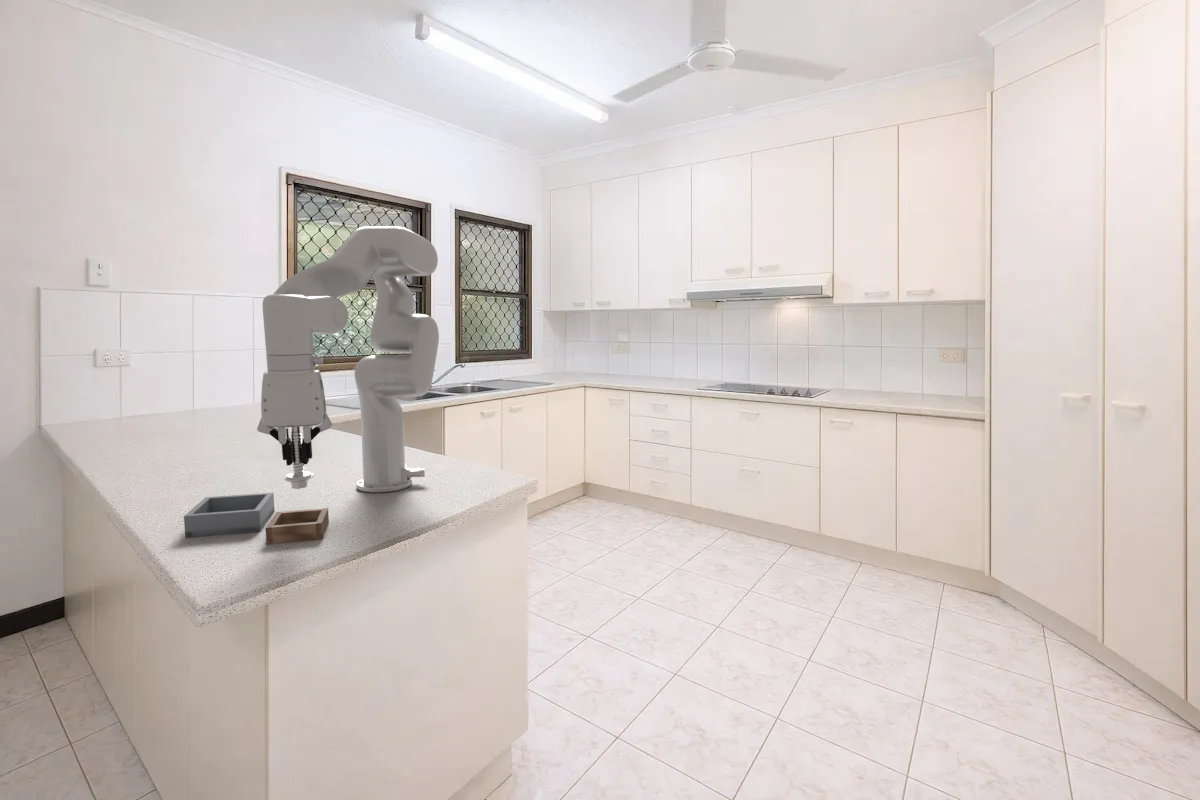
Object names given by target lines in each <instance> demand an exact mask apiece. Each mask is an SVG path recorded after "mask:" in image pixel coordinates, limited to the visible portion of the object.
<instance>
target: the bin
mask: <svg viewBox="0 0 1200 800" xmlns="http://www.w3.org/2000/svg"><path fill="white" fill-rule="evenodd" d="M274 497H275V495H274V492H263V493H262V492H261V493H250V494H249V493H248V494H235V495H234V494H233V495H221V496H220V495H219V496H218V495H217V496H206V497H204V498H203V499H202V500H200V502H198V503H197V504H196V505H195V506H194V507H193V508H192V509H191V510H189V511H188V512H187V513H186V514H184V515H183V523H184V524H183V525H184V534H185V536H184V537H185V538H186V539H187V538H194V537H207V536H208V537H209V536H221V535H232V534H242V533H254V532H255V533H256V532H261V531H263V529H264V527H266V526H265V525H266V524H267V523H268V521H269V519H271V518H272V516H273V514H275V498H274Z"/></svg>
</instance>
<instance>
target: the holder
mask: <svg viewBox="0 0 1200 800" xmlns="http://www.w3.org/2000/svg"><path fill="white" fill-rule="evenodd" d="M272 516H273V517H271V518H270V521H269V522H268V524H267V525H266V526H265V542H266V545H273V544H282V543H283V544H286V543H292V542H293V543H294V542H303V541H305V542H306V541H315V540H316V541H317V540H323V539H324V536H325V534H326V531H327V528H328V526H329V523H330V521H329V520H330V519H329V516H330V515H329V507H326V508H312V509H299V510H287V511H276V513H275V512H274V515H272Z"/></svg>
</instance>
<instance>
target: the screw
mask: <svg viewBox="0 0 1200 800" xmlns="http://www.w3.org/2000/svg"><path fill="white" fill-rule="evenodd" d="M300 427H301V426H299V427H290V428H291V432H290V434H291V435H290V437H291V438H290V439H291V441H292V442H291V443H292V445H291V446H292V448H291V449H292V452H293V454H292V455H293V463H292V465H293V466H292V468H293V470H292V471H293V472H290V473H287V474H286V475H285V476H284V478H283V480H284V481H286V482H290V484H291V489H294V490H295V489H296V490H300V489H304V488H307V486H308V481H309V480H311V479H312V478H314V475H315V474H314V473H313V472H311V471H309V470H308V471H307V470H304V469H305V467H304V466H305V464H302V453H301V443H302V442H303V441H302V440H303V438H302V437H303V435H302V433H301V431H300V430H301V429H300Z"/></svg>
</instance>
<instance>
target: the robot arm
mask: <svg viewBox="0 0 1200 800" xmlns="http://www.w3.org/2000/svg"><path fill="white" fill-rule="evenodd" d="M438 258H439V257H438V253H437V250H436V247H435V246H434V245H433V244H432V242H431V241H429V240H428V239H427V238H425V237H423V236H421V235H420V234H418V233H416V232H414V231H412V230H410V229H408V228H406V227H402V226H397V225H395V226H393V225H391V226H388V225H386V226H382V225H381V226H380V225H379V226H376V225H375V226H374V225H373V226H362V227H358V228H356V229H354V230H353V231H352V232H351V233H350V234H349V236H348V237H347V238H345V240H344V241H343V242H342V244H341V245H340V246H339V247H338V248H337V249H336V251H335V252H333V254H332V255H331V256H330V257H328V259H325V260H324V261H321V262H318V263H315V264H314V265H312V266H309V267H308V268H305V269H304V270H302V271H299V272H297V273H295V274H293V275H292V276H290V277H289V278H287V279H286V280H285V281H284V282H283V283H281V284H280V286H279V287H278V288H277V289H276V290H275V291H274V292H273V294H268V295H265V296H264V298H263V300H262V315H263V316H262V317H263V318H262V319H263V329H264V331H263V332H264V341H265V354H266V367H267V368H266V369H267V370H266V371H264V372H263V374H262V379H261V380H262V381H261V382H262V383H261V399H260V400H261V401H260V403H261V404H260V412H261V415H260V417H261V418H260V420H259V423H258V425H257V428H256V430H257V432H259V433H262V434H265V435H269V436H271V437H272V438H274V439H275V440H276V441H278V442H279V444H280V445H281V453H282V455H281V456H282V460H283V461H286V462H285V463H286V464H285V465H286V466H288V467H289V466H291V465H293V455H292V454H293V452H292V449H291V448H292V446H291V445H292V443H291V442H292V440H291V439H292V438H290V431H289V430H290V429H289V428H291V427H302V437H303V438H302V441H301V442H302V443H301V453H302V464H304V465H307V464H308V463H309V461H310V459H312V458H313V448H312V447H313V446H312V441H313V440H314V438H316V437H317V436H318V434H320V433H322V432H324V431H325V432H326V431H327V430H330V429H331V428H332V427H333V422H332V421H331V419H330V417H329V415H328V413H327V404H326V396H325V388H324V383H323V378H322V375H321V371H320V369H316V370H315V368H316V367H317V366H319V365H323V364H324V361H323V360H324V359H323V357H319V356H317V355H315V353H314V340H313V337H314V336H313V335H333V334H337V333H339V332H341V331H342V330H344V328H345V327H346V326H347V324H348V321H349V311H348V307H347V306H346V304H345V303H344V301H342V300H341V299H339V298H340V297H344V296H348V295H350V294H354V293H357V292H359V291H361V290H363V289H364V288H365V287H366V285H368V283H369V281H370V280H371V278H372V279H373V282H374V284H375V288H376V291H377V300H376V305H375V310H374V313H373V318H372V319H373V320H372V325H371V329H370V335H369V336H370V337H369V338H370V344H371V346H372V347H373V349H374V350H377V351H379V352H382V353H387V354H373V355H368V356H367V355H366V356H365V357H363V358H361V359H359V361H358V362H357V364H356V365H355V368H354V380H355V385H356V389H357V393H358V399H359V406H360V421H361V425H360V426H361V450H362V451H361V452H362V474H363V477H362V479H360V480H359V479H358V480H357V481H356V489H357V490H358V491H361V492H365V493H390V492H395V491H400V490H404V489H407V488H409V487H411V486H412V484H413V478H424V477H426V476H425V475H426V474H425V468H419V467H417V468H410V467H407V463H406V460H405V459H406V457H405V455H406V454H405V425H404V424H405V420H404V419H405V418H404V411H403V408H402V406H401V405H400V403H399V401H398V400H397V398H396V397H422V396H424V395H426V394H427V393H428V392H429V390H430V389H431V386H432V382H433V377H434V373H435V365H436V360H437V355H438V348H439V343H440V334H439V331H440V330H439V327H438V324H437V322H436V320H435V319H434V318H433V317H431V316H430V315H427V314H422V313H413V312H414V305H415V300H414V295H413V294H412V292H411V291H412V290H410V288H409V286H407V284H406V283H405V282H404V281H403V279H402V278H401V277H426V276H430V275H432V274H433V273H435V271H436V270H437V267H438V261H439V260H438ZM390 353H391V355H390ZM392 354H410V355H392ZM313 427H314V428H313Z"/></svg>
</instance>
